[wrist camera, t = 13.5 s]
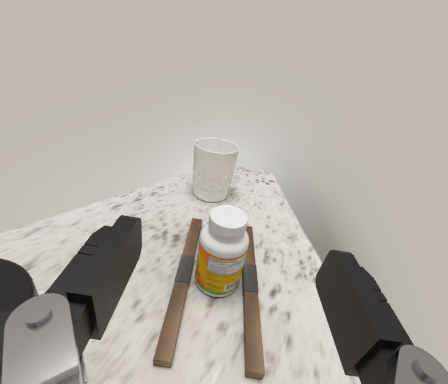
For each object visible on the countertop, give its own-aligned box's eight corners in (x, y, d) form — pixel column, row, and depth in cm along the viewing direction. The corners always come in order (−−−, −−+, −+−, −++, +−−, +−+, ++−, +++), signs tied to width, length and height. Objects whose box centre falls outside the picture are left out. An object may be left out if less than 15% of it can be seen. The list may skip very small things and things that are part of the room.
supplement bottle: (200, 258, 32) (208, 197, 27) (240, 267, 31) (255, 206, 26) (189, 293, 27) (197, 226, 22) (236, 303, 27) (254, 237, 22)
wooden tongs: (152, 365, 20) (152, 358, 20) (191, 223, 38) (192, 217, 37) (262, 379, 21) (265, 373, 20) (251, 231, 38) (252, 226, 37)
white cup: (219, 181, 51) (226, 136, 46) (237, 201, 46) (247, 152, 41) (184, 185, 48) (188, 137, 43) (199, 207, 42) (205, 154, 37)
